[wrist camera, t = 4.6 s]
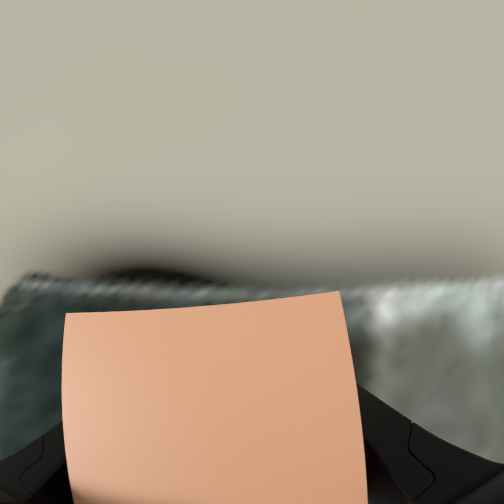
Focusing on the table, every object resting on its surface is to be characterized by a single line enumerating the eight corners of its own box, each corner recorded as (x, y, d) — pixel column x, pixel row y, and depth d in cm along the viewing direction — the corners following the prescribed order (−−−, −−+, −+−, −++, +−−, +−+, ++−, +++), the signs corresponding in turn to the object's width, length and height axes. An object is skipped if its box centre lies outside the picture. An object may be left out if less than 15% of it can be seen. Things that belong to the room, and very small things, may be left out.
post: (299, 455, 12) (368, 555, 2) (201, 461, 12) (87, 549, 2) (288, 365, 14) (339, 291, 5) (194, 373, 14) (66, 312, 5)
